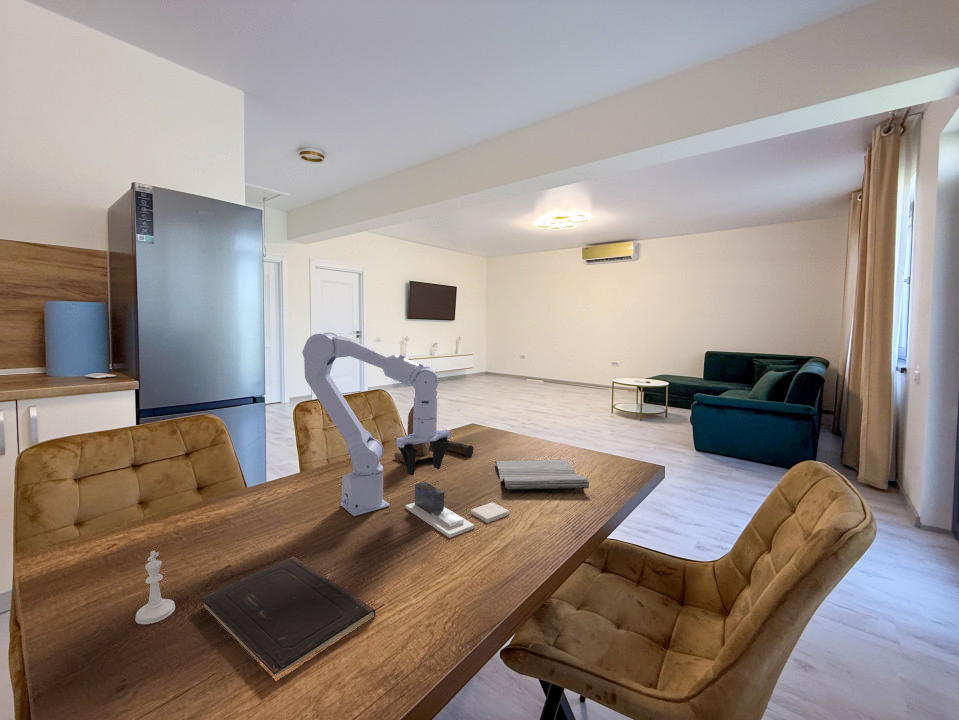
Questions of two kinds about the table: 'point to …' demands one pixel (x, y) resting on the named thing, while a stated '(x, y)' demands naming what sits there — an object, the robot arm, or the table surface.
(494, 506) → the tile
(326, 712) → the table surface
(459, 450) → the hand tool
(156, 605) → the chess piece
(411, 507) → the board
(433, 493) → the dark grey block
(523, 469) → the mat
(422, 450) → the bird sculpture
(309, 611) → the hardcover book
